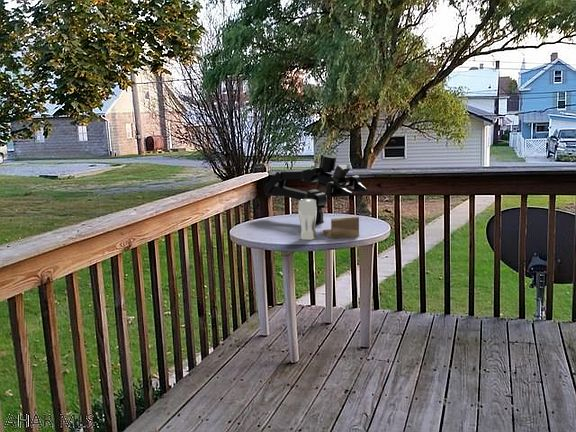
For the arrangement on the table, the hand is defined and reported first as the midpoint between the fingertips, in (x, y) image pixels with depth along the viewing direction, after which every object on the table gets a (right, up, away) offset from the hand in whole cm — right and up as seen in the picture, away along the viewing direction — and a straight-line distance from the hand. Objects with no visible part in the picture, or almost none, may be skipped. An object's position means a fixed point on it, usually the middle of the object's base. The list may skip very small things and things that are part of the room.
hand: (359, 192), depth 227 cm
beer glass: (-21, -19, -11) cm, 30 cm away
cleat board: (-8, -17, -6) cm, 20 cm away
